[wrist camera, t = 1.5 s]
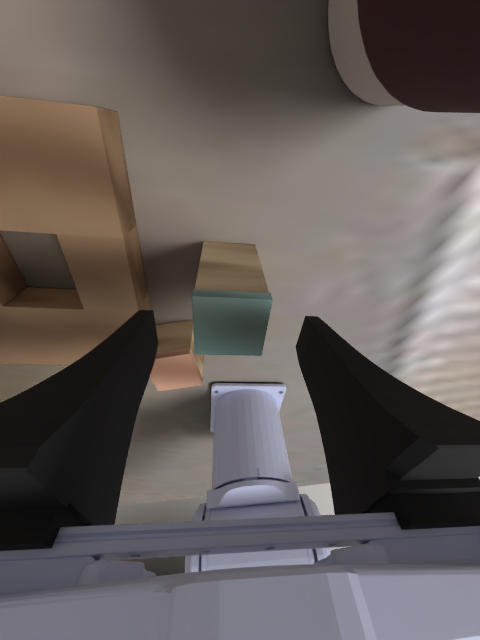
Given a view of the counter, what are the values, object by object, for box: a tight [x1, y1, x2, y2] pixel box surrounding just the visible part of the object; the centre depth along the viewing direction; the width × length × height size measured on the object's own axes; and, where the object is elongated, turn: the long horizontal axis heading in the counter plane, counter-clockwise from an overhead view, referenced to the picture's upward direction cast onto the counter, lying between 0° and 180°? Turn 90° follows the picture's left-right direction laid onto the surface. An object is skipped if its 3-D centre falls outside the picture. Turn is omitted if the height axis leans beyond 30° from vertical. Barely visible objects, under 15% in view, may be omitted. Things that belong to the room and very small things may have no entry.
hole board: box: [0, 96, 151, 365], centre depth 15 cm, size 16×12×2 cm
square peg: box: [192, 241, 272, 356], centre depth 15 cm, size 4×4×7 cm
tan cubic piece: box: [150, 320, 204, 391], centre depth 20 cm, size 4×4×4 cm
